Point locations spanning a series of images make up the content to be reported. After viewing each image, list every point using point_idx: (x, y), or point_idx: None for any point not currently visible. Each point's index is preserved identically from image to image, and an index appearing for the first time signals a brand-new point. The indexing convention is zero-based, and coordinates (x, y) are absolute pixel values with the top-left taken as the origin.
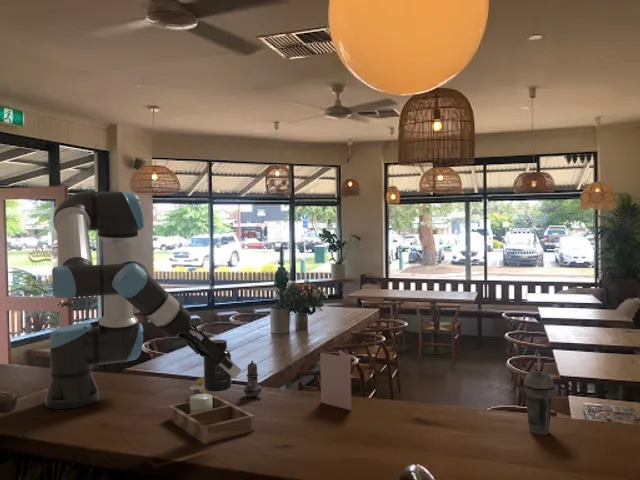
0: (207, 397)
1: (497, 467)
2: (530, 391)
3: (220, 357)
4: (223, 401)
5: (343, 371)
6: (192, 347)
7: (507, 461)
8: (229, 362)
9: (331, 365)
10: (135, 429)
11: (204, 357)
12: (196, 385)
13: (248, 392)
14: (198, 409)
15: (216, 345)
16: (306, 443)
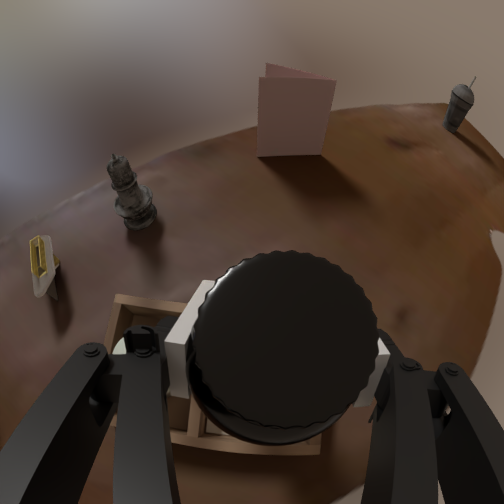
0: None
1: (500, 197)
2: (467, 105)
3: (445, 408)
4: (167, 307)
5: (316, 102)
6: (96, 445)
7: (493, 184)
8: (394, 347)
9: (287, 96)
10: (102, 479)
11: (256, 444)
12: (39, 277)
13: (137, 216)
14: (169, 390)
15: (500, 429)
16: (409, 283)
